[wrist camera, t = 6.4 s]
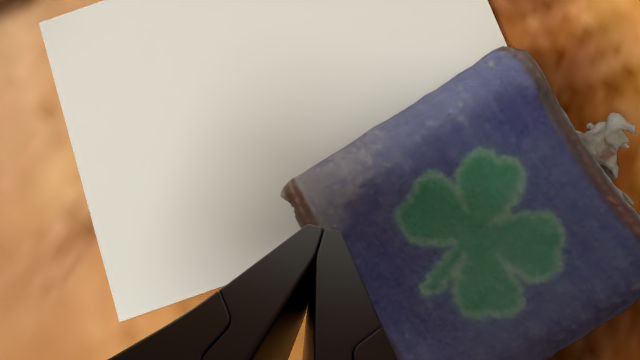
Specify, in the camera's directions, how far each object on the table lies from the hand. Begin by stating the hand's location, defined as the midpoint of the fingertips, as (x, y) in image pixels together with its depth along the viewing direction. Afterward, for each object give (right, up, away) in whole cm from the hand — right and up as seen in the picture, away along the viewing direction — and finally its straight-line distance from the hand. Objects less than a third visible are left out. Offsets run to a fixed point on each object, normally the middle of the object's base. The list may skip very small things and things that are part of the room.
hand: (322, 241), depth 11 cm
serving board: (-1, +5, +9) cm, 10 cm away
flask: (+1, -3, +5) cm, 6 cm away
